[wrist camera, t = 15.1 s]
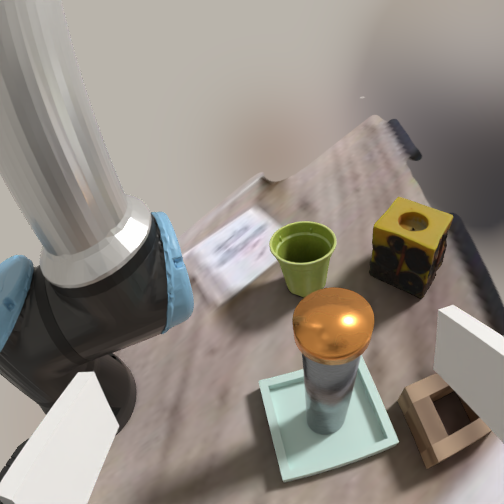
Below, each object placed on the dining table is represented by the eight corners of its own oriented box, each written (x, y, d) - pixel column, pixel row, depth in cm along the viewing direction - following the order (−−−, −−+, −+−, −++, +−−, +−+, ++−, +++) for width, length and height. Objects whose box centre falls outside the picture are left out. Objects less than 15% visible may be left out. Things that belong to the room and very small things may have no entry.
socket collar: (426, 469, 25) (438, 462, 23) (397, 400, 33) (405, 387, 30) (491, 430, 26) (506, 419, 23) (460, 370, 33) (471, 355, 31)
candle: (442, 263, 48) (455, 215, 42) (422, 301, 43) (437, 251, 37) (392, 241, 54) (398, 194, 48) (367, 275, 50) (372, 225, 43)
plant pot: (286, 314, 46) (281, 272, 41) (269, 272, 54) (262, 230, 48) (345, 295, 47) (347, 252, 42) (321, 257, 54) (320, 215, 49)
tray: (284, 482, 28) (282, 480, 27) (260, 387, 38) (258, 380, 37) (394, 446, 29) (399, 441, 27) (358, 359, 39) (359, 351, 37)
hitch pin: (309, 444, 31) (306, 364, 18) (297, 404, 35) (283, 299, 22) (355, 429, 31) (387, 337, 18) (340, 391, 35) (355, 279, 22)
